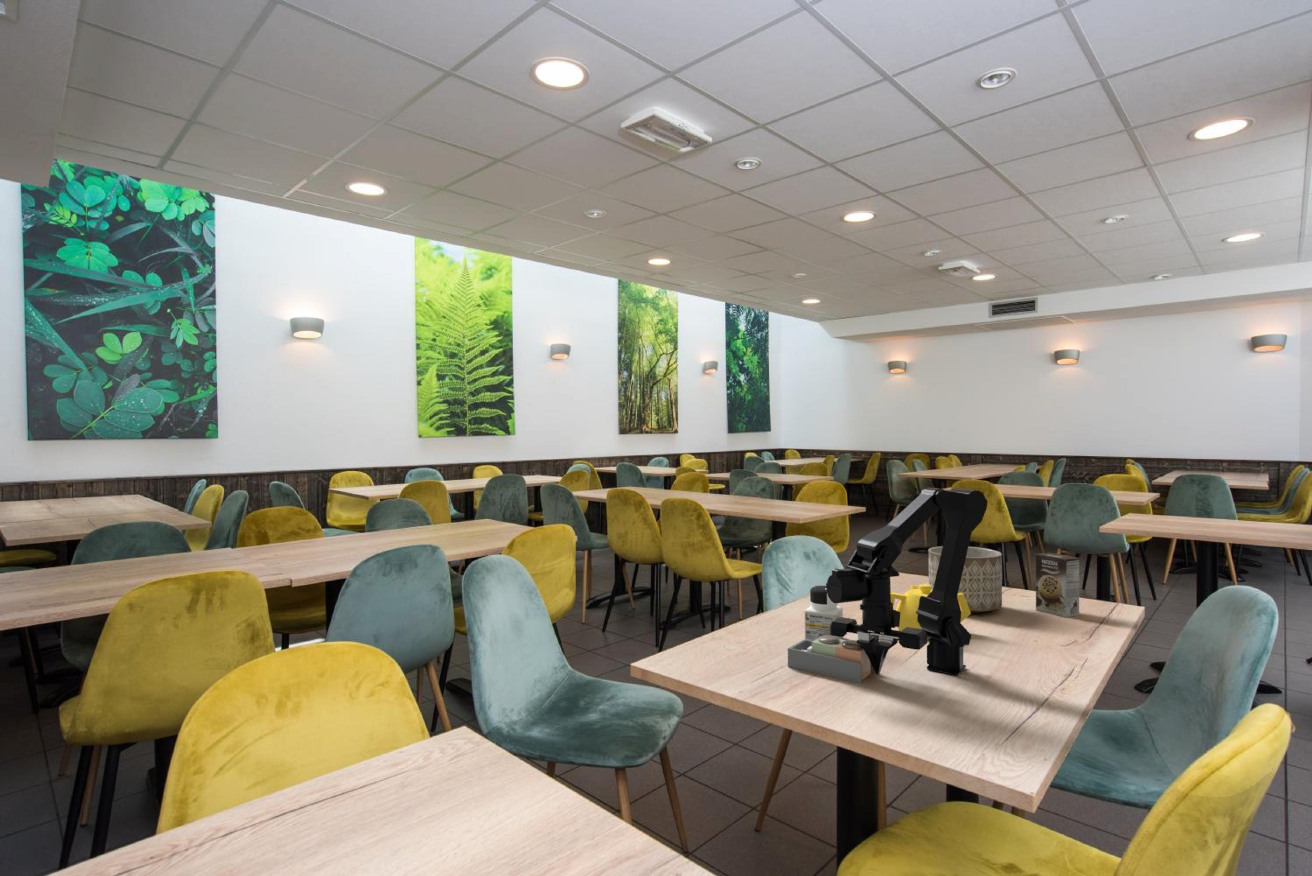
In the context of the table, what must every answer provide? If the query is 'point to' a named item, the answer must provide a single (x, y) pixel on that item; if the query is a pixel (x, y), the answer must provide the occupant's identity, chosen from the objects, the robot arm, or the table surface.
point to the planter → (976, 577)
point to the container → (820, 614)
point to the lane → (823, 663)
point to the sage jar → (826, 645)
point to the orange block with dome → (854, 655)
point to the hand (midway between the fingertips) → (877, 674)
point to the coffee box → (1057, 584)
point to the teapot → (911, 604)
